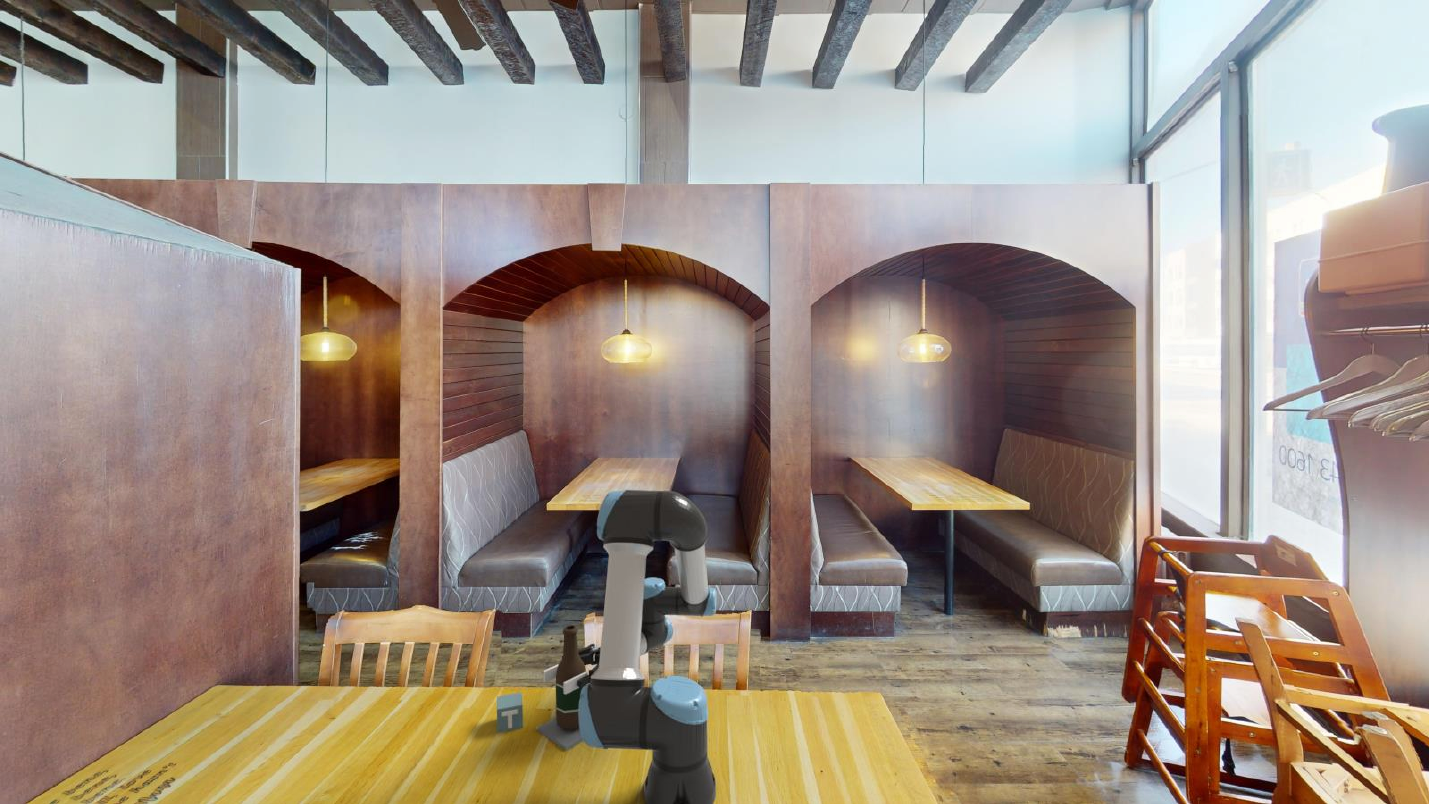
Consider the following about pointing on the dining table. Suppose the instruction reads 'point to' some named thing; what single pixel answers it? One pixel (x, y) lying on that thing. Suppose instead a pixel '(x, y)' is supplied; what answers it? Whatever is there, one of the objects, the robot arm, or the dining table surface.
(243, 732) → the dining table surface
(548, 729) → the mat
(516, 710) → the letter block
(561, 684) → the beer bottle
